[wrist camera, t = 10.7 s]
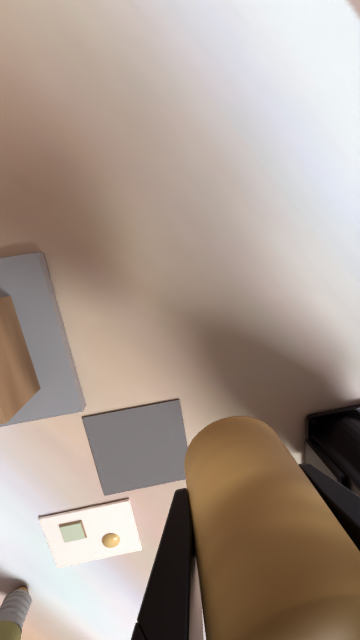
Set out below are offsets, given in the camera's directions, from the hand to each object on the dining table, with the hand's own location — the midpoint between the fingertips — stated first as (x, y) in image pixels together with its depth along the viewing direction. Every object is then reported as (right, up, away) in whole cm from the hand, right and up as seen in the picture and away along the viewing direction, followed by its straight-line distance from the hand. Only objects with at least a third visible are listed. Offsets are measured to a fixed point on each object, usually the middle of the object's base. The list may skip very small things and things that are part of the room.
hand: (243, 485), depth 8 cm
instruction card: (-10, -14, +13) cm, 22 cm away
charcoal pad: (-6, -5, +12) cm, 14 cm away
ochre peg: (0, 0, +1) cm, 1 cm away
